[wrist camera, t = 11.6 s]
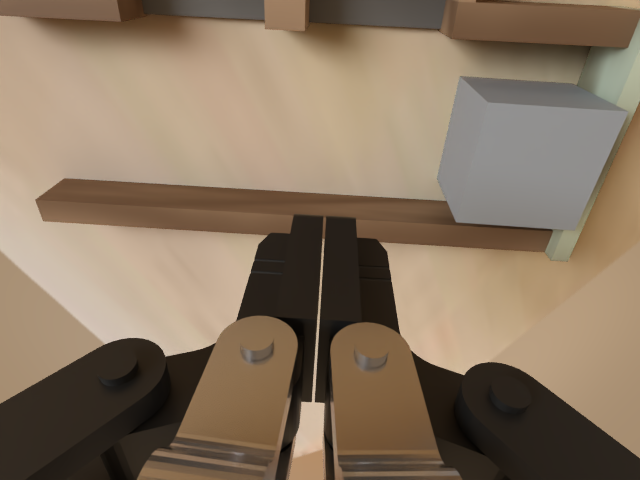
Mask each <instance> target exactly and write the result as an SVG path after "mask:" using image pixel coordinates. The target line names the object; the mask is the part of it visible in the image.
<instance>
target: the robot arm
mask: <svg viewBox="0 0 640 480" xmlns="http://www.w3.org/2000/svg"><path fill="white" fill-rule="evenodd" d="M323 217H324V215H309V214H294V216H293V221H292V226H291V231H290V234H288V233H272V232H271V233H270V234H269V235H268V236H267V237H266V238H265V239H264V240H263V241H262V242H261V243H260V244H259V245H258V249H257V252H256V255H255V261H254V262H253V266H252V269H251V274H250V276H249V279H248V283H247V286H246V290H245V293H244V296H243V300H242V303H241V307H240V310H239V313H238V317H237V320H236V322H234V323H232V324H231V325H229V326H228V327H227V328H226V329H224V331H223V332H222V333H221V334H220V336H219V338H218V340H217V342H216V343H215V344H213V345H211V346H209V347H206V348H203V349H200V350H196V351H192V352H187V353H182V354H177V355H172V356H167V357H165V355H164V353H163V351H162V349H161V348H160V347H159V346H158V345H157V344H155V343H153V342H151V341H149V340H145V339H140V338H127V339H120V340H117V341H113V342H110V343H108V344H105V345H103V346H101V347H99V348H97V349H96V350H94V351H92V352H90V353H88V354H87V355H85V356H83V357H82V358H80V359H78V360H76V361H74V362H73V363H71V364H69V365H67V366H66V367H64V368H62V369H60V370H59V371H57V372H55V373H53V374H52V375H50V376H48V377H46V378H45V379H43V380H42V381H39V382H38V383H36V384H34V385H32V386H31V387H29V388H27V389H25V390H24V391H22V392H20V393H18V394H17V395H15V396H13V397H11V398H10V399H8V400H6V401H4V402H3V403H1V404H0V480H288V479H289V474H290V469H291V463H292V457H293V452H294V446H295V440H296V433H297V431H298V428H299V423H300V412H301V402H312V388H313V374H314V359H315V344H316V330H317V315H318V301H319V286H320V270H321V252H322V235H323ZM315 402H320V403H325V410H324V430H323V466H324V467H323V468H324V480H640V458H639V457H637V456H636V455H635V454H633V453H632V452H631V451H629V450H628V449H627V448H625V447H624V446H623V445H621V444H620V443H619V442H617V441H616V440H615V439H613V438H612V437H611V436H609V435H608V434H607V433H605V432H604V431H603V430H601V429H600V428H599V427H597V426H596V425H595V424H593V423H592V422H591V421H590V420H588V419H587V418H586V417H584V416H583V415H581V414H580V413H579V412H578V411H576V410H575V409H574V408H572V407H571V406H570V405H568V404H567V403H566V402H564V401H563V400H562V399H560V398H559V397H558V396H556V395H555V394H554V393H552V392H551V391H550V390H548V389H547V388H546V387H544V386H543V385H542V384H540V383H539V382H538V381H537V380H535V379H534V378H533V377H531V376H530V375H528V374H526V373H525V372H523V371H521V370H519V369H517V368H515V367H512V366H509V365H506V364H502V363H494V362H488V363H481V364H478V365H475V366H474V367H472V368H470V369H469V370H468V371H467V372H466V374H465V375H462V374H459V373H456V372H453V371H450V370H447V369H444V368H441V367H438V366H435V365H433V364H430V363H428V362H426V361H424V360H423V359H421V358H420V357H418V356H417V355H416V354H414V353H413V352H412V351H411V350H410V347H409V345H408V344H407V342H406V341H405V340H404V338H403V337H402V336H401V335H400V331H399V325H398V319H397V313H396V306H395V300H394V293H393V287H392V282H391V274H390V270H389V261H388V255H387V251H386V250H385V249H384V248H383V246H382V245H381V244H380V243H379V241H378V240H377V239H372V238H357V228H356V217H344V216H328V215H326V228H325V244H324V260H323V277H322V293H321V309H320V326H319V342H318V359H317V375H316V391H315Z"/></svg>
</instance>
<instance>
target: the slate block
mask: <svg viewBox="0 0 640 480" xmlns="http://www.w3.org/2000/svg"><path fill="white" fill-rule="evenodd" d="M627 114H628V111H626V110H624V109H622V108H620V107H618V106H616V105H614V104H612V103H610V102H608V101H606V100H604V99H602V98H600V97H598V96H596V95H594V94H592V93H590V92H588V91H586V90H584V89H582V88H580V87H578V86H576V85H574V84H571V83H556V82H540V81H525V80H509V79H494V78H479V77H463V76H460V77H459V82H458V86H457V91H456V95H455V100H454V104H453V109H452V113H451V118H450V122H449V127H448V131H447V136H446V140H445V145H444V149H443V154H442V158H441V163H440V167H439V172H438V176H437V180H438V182H439V185H440V187H441V189H442V191H443V194H444V196H445V198H446V201H447V203H448V205H449V207H450V210H451V212H452V214H453V216H454V219H455V221H456V222H459V223H473V224H487V225H502V226H516V227H530V228H545V229H559V230H573V231H575V229H576V227H577V224H578V222H579V220H580V218H581V216H582V213H583V211H584V209H585V207H586V205H587V202H588V200H589V198H590V196H591V194H592V191H593V189H594V187H595V185H596V183H597V180H598V178H599V176H600V174H601V171H602V169H603V167H604V165H605V163H606V160H607V158H608V156H609V154H610V152H611V149H612V147H613V145H614V143H615V141H616V138H617V136H618V134H619V132H620V130H621V127H622V125H623V123H624V121H625V119H626V116H627Z"/></svg>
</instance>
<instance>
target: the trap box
mask: <svg viewBox="0 0 640 480" xmlns="http://www.w3.org/2000/svg"><path fill="white" fill-rule="evenodd" d="M147 14H158V15H177V16H197V17H216V18H236V19H256V20H265V29H272V30H292V31H305V30H306V29H307V27H308V26H309V24H310V22H314V23H334V24H353V25H373V26H393V27H412V28H432V29H439V31H440V32H442V33H443V34H445V35H446V36H448V37H450V38H451V39H466V40H486V41H505V42H525V43H544V44H563V45H583V46H591V49H590V51H589V54H588V57H587V60H586V62H585V65H584V68H583V71H582V73H581V76H580V79H579V82H578V84H577V86H578V87H580V88H582V89H584V90H586V91H588V92H590V93H592V94H594V95H596V96H598V97H600V98H602V99H604V100H606V101H608V102H610V103H612V104H614V105H616V106H618V107H620V108H622V109H624V110H626V111H628V114H627V116H626V119H625V121H624V123H623V125H622V127H621V130H620V132H619V134H618V136H617V138H616V141H615V143H614V145H613V147H612V149H611V152H610V154H609V156H608V158H607V160H606V163H605V165H604V167H603V169H602V171H601V174H600V176H599V178H598V180H597V183H596V185H595V187H594V189H593V191H592V194H591V196H590V198H589V200H588V202H587V205H586V207H585V209H584V211H583V213H582V216H581V218H580V220H579V222H578V224H577V227H576V229H575V231H573V230H559V229H545V228H530V227H516V226H502V225H487V224H473V223H459V222H456V221H455V219H454V216H453V214H452V212H451V210H450V207H449V205H448V203H447V201H433V200H416V199H399V198H383V197H366V196H349V195H332V194H316V193H299V192H282V191H265V190H249V189H232V188H215V187H198V186H182V185H165V184H148V183H131V182H115V181H98V180H81V179H63V180H62V181H60V182H59V183H58V184H56V185H55V186H54V187H52V188H51V189H49V190H48V191H47V192H45V193H44V194H43V195H41V196H40V197H39V198H37V199H36V203H37V206H38V208H39V211H40V214H41V216H42V219H43V221H49V222H65V223H81V224H97V225H113V226H129V227H146V228H162V229H178V230H194V231H210V232H226V233H242V234H259V235H269V234H270V233H271V232H272V233H288V234H290V231H291V226H292V221H293V216H294V214H309V215H324V217H323V235H322V238H323V239H325V228H326V215H328V216H344V217H356V228H357V238H372V239H377V240H378V241H379V242H388V243H404V244H420V245H436V246H452V247H468V248H484V249H501V250H517V251H533V252H545V253H546V255H547V256H548V257H549V259H550V260H551V261H566V262H568V260H569V258H570V256H571V253H572V251H573V249H574V247H575V244H576V242H577V240H578V238H579V235H580V233H581V231H582V229H583V227H584V224H585V222H586V220H587V218H588V215H589V213H590V211H591V209H592V207H593V204H594V202H595V200H596V198H597V195H598V193H599V191H600V189H601V187H602V184H603V182H604V180H605V178H606V175H607V173H608V171H609V169H610V166H611V164H612V162H613V160H614V158H615V155H616V153H617V151H618V149H619V146H620V144H621V142H622V140H623V138H624V135H625V133H626V131H627V129H628V126H629V124H630V122H631V120H632V118H633V115H634V113H635V111H636V109H637V106H638V104H639V102H640V9H637V8H629V7H614V6H594V5H574V4H554V3H534V2H513V1H493V0H0V15H1V16H20V17H40V18H59V19H78V20H98V21H117V22H122V21H126V20H131V19H135V18H140V17H144V16H147Z"/></svg>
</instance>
